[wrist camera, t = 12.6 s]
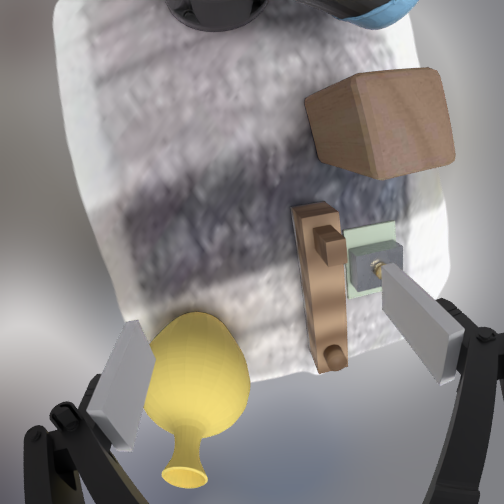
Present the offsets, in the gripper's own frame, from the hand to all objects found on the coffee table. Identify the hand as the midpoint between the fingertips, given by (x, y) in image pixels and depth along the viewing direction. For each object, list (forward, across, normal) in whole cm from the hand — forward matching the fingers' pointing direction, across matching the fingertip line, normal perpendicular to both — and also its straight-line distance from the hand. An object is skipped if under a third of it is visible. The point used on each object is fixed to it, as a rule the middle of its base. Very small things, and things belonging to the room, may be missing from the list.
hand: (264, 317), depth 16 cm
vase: (+32, -12, -21) cm, 40 cm away
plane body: (+32, +9, -16) cm, 37 cm away
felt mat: (+32, +18, -14) cm, 39 cm away
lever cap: (+31, +18, -14) cm, 39 cm away
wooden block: (+32, +17, +8) cm, 37 cm away
